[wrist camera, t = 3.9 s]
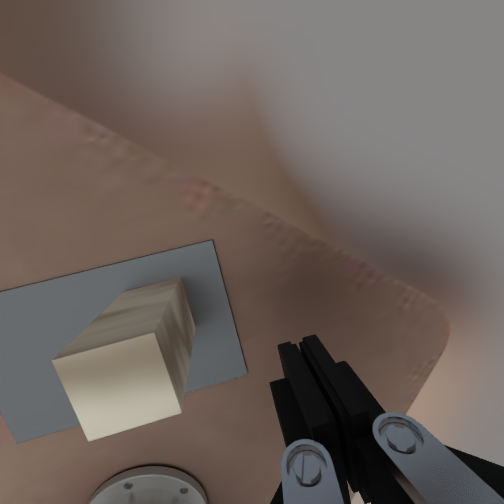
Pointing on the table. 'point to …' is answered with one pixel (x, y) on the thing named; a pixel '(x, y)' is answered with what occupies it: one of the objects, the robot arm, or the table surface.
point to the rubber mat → (89, 308)
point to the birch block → (130, 360)
